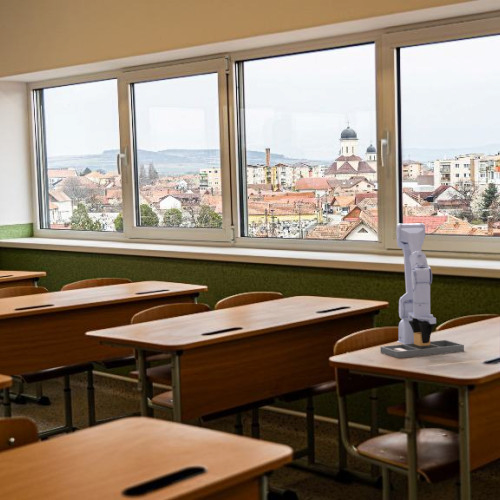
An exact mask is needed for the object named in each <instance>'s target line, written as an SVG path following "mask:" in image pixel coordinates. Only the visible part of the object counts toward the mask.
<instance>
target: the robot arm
mask: <svg viewBox="0 0 500 500" xmlns="http://www.w3.org/2000/svg"><path fill="white" fill-rule="evenodd" d="M395 229H396V231H395V232H396V233H395V234H396V236H395V237H396V245H397V248H399V249H401V250H402V255H403V263H404V266H403V267H404V280H405V293H404V294H403V295H402V296H400V297H399V300H398V317H399V318H400V319H401V320H400V321H399V322H398V340H397V341H396V343H400V344H411V343H414V333H417V332H421V334H422V342H423V343H429V340H430V341H431V334H432V332H433V330H434V327H435V326H436V324H437V318H436V317H434V315H433V314H431V285H432V282H433V272H432V271H433V270H432V268H431V267H430V265H428V260H427V256H426V254H425V253H424V252H422V247H423V244H424V241H425V238H426V226H425V224H424V222H420V223H419V222H418V223H415V222H414V223H398V224H396V228H395Z"/></svg>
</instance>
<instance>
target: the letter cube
mask: <svg viewBox="0 0 500 500" xmlns="http://www.w3.org/2000/svg"><path fill="white" fill-rule="evenodd" d="M430 341H431V339H430V340H429V343H423V342H422V334H421V332H417V333H414V344H415V345H418V346H426V345H430Z"/></svg>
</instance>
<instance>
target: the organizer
mask: <svg viewBox="0 0 500 500" xmlns="http://www.w3.org/2000/svg"><path fill="white" fill-rule="evenodd" d="M395 348H401V349H405V350H408V351H399V352H398V351H395V350H394V349H395ZM457 352H458V353H459V352H465V344H462V343H459V342H456V341H455V342H454V341H451V340H447V339H442V340H432V341H431V340H430V345H426V346H418V345H415V344H414V343H411V344H403V343H400V344H392V345H382V346H380V353H382V354H385V355H386V356H391V357H393V358H395V359H401V358H411V357H420V356H429V355H439V354H447V353H457Z"/></svg>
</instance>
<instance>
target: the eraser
mask: <svg viewBox="0 0 500 500" xmlns="http://www.w3.org/2000/svg"><path fill="white" fill-rule="evenodd" d="M394 350H395V351H398V352H399V351H408V350H405V349H401V348H395V349H394Z"/></svg>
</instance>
